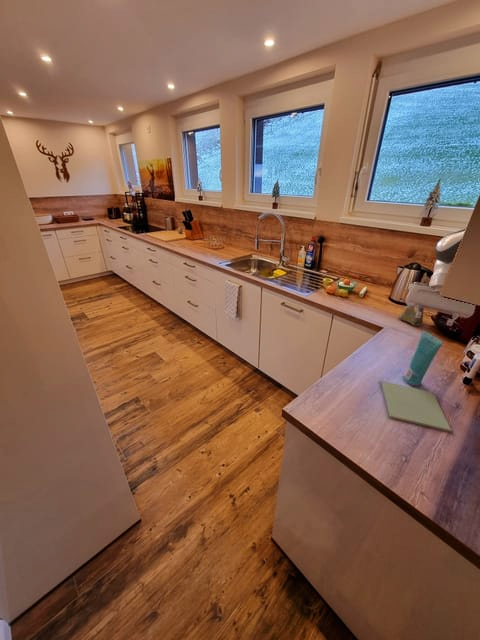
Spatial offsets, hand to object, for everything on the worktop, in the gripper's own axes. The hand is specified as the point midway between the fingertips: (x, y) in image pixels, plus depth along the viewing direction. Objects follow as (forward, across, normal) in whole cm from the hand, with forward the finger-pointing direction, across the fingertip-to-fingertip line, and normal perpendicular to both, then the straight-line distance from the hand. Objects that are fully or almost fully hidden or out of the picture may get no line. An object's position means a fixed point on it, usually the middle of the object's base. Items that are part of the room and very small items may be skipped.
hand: (433, 321), depth 93 cm
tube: (+22, 0, +6) cm, 23 cm away
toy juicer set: (-30, -39, +58) cm, 76 cm away
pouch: (-16, -3, +44) cm, 47 cm away
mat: (+31, 0, -3) cm, 31 cm away
